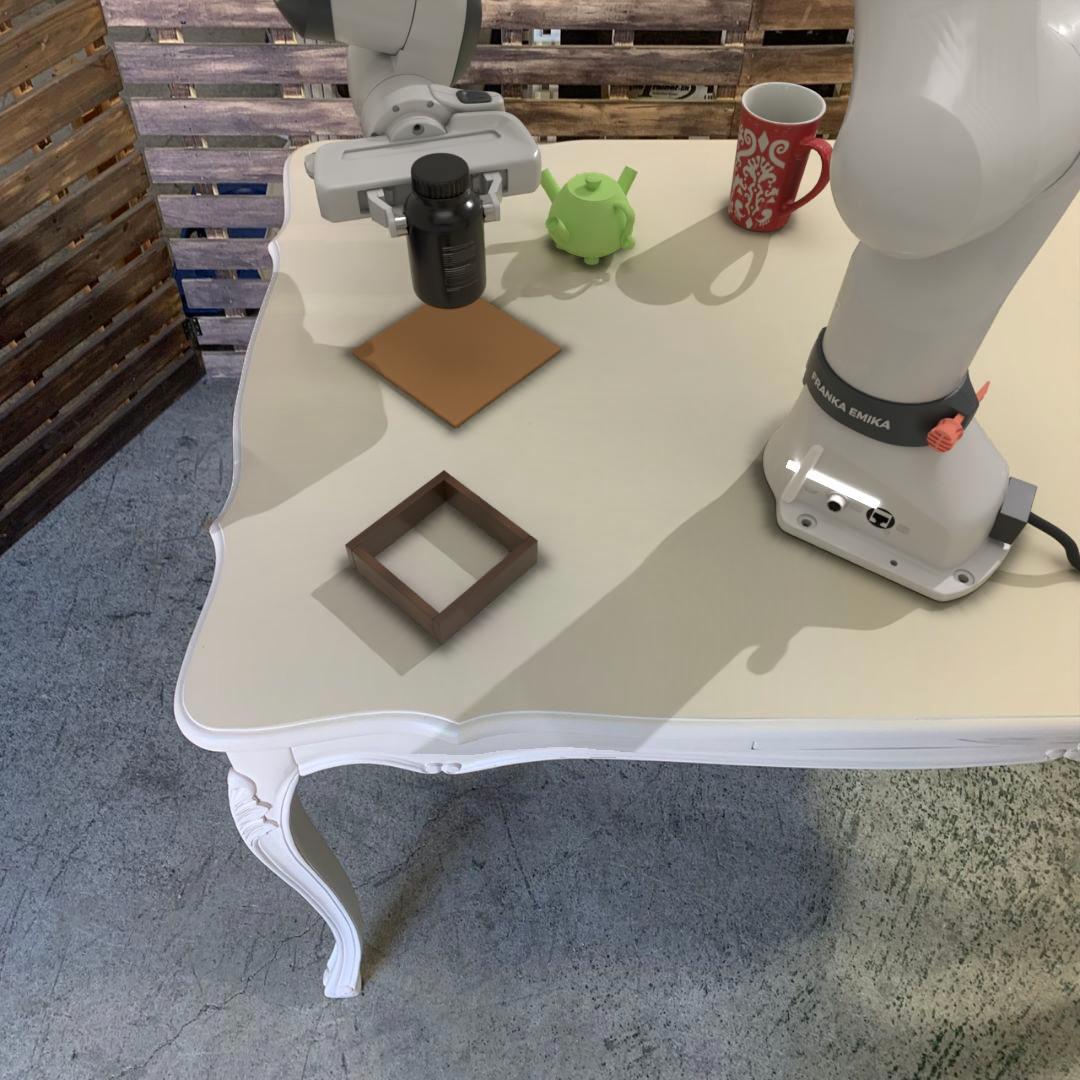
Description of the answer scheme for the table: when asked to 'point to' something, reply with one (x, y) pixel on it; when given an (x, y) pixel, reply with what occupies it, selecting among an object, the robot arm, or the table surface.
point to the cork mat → (456, 357)
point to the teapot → (590, 214)
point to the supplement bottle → (445, 233)
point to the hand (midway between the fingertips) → (446, 222)
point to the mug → (776, 154)
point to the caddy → (412, 513)
